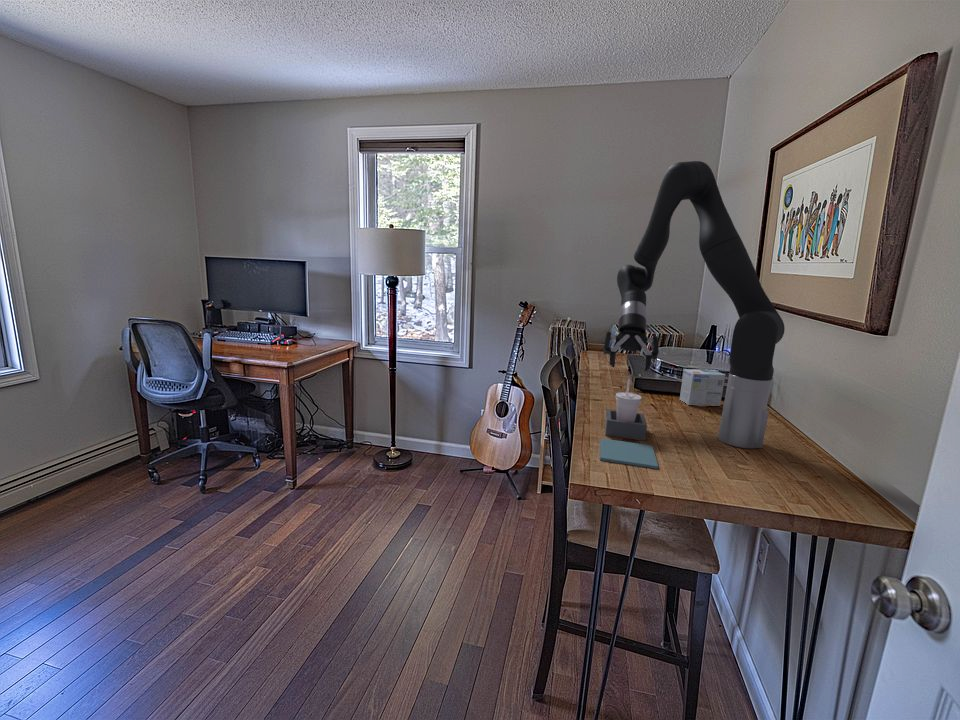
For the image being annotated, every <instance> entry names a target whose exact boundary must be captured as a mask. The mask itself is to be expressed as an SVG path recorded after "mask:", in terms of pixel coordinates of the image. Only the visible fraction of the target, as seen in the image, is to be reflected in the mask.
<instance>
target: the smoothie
mask: <svg viewBox="0 0 960 720" xmlns="http://www.w3.org/2000/svg"><path fill="white" fill-rule="evenodd" d="M626 383H627V385H626V391H625V392H623V391H622V392H616V394H615V400H616V405H615V406H616V410H617V420H619V421H627V422H635V418H636V414H637V413H638V411H639V410H638V409H639V407H640V403H641V402H642V396H641V395H638V394H637V393H632V392H629V391H630V385H631V379H628V378H627V382H626Z"/></svg>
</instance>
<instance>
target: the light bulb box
mask: <svg viewBox="0 0 960 720" xmlns="http://www.w3.org/2000/svg"><path fill="white" fill-rule="evenodd" d="M725 380H726V374H725V373H722V372H721V371H717V370H715V369H694V368H693V369H692V368H691V369H689V368H688V369H687V368H683V373H682V380H681V388H680V395H679V401H680V400H681V401H680V402H682V401H683V402H685V403H686V404H687V405H686V404H685V403H684V404H685V405H686V406H688V405H715V406H720V407H721V403H722V396H723V391H724V384H725ZM683 402H682V403H683Z"/></svg>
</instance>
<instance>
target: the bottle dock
mask: <svg viewBox="0 0 960 720" xmlns="http://www.w3.org/2000/svg"><path fill="white" fill-rule="evenodd" d="M647 427H648V424H647V420H646V418H645V413H640V412H637V414H636V418H635V422H627V421H619V420H617V409H612V408H611V409H609V408H607V409H606V413H605V421H604V432H605V433H604V435H605V436H608V437H617V438H623V439H632V440H637V441H638V440H639V441H646V436H647V429H648V428H647Z"/></svg>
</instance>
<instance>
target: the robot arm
mask: <svg viewBox="0 0 960 720" xmlns="http://www.w3.org/2000/svg"><path fill="white" fill-rule="evenodd" d="M659 186H660V187H659V189H658V194H657V196H656V200H655V201H654V206H653V209H652V212H651V216H650V217H649V218H650V219H649V222H648V224H647V227H646V229H645V231H644V234H643V235H642V237H641V240H640V241H639V243H638V246H637V248H636V250H635V252H634V254H633V260H634V261H635V262H636V263H637V264H638V265H640V266H642V267H639V266H635V265H632V264H624V265H623V266H622V267H620V268H619V270H618V271H617V276H616V282H617V287H618V291H619V293H620V298H621V300H620V301H621V302H620V310H619V314H618V316H619V317H618V326H617V328H618V329H617V333H616V334H612V332H610V331H607V332H606V334H605V341H604V342H605V343H604V346H603V353H604V354H605V355H607V354H608V355H609V360H608V361H609V362H608V363H609V365H610V366H611V367H612V368H615V365H616V355H617V354H619V353H621V351H622V350H624V351H628V352H629V351H630V352H635V353H636V352H638V353H639V355H641V356H642V357H643V358H644V363H643V365H644V366H643V367H644V368H643V371H644V372H648V370H650V368H651V364H652V359H654V360H656V359H658V356H659V352H660V351H659V337H658V336H656V335H655V336H653V337H648V336H647V335H646V334H647V318H648V317H647V316H648V315H647V294H646V292H647V291H649V290H650V289H651V287H652V286H653V281H654V278H655V273H656V272H655V271H656V268H657V265H658V262H659V260H660V258H661V256H662V255H663V253H664V251H665V249H666V247H667V245H668V243H669V239H670V232H671V229H670V227H671V221H672V217H673V214H674V212H675V210H676V209H677V207H678V206H679V205H680V203H681V202H682V201H684V200H685V201H686V200H689V201H690V203H691V204H692V206H693V207H694V210H695V212H696V214H697V217H698V221H699V235H698V239H699V240H698V245H699V250H700V251H699V252H700V254H701V256H702V258H703V260H704V262H705V265H706V267H707V270H708V271H709V273H710V274H711V276H712V277H713V279H714V280H715V281H716V283H717V284H718V285H719V286H720V287H721V288H722V289H723V291H724V292H725V293H726V294H727V296H728V297H729V298H730V299H731V300H730V301H732V303H733V306H734V307H735V310H736V313H737V315H738V319H737V321H736V323H735V325H734V327H733V332H732V338H731V345H730V351H729V359H728V361H729V374H728V379H727V385H726V390H725V396H724V401H723V406H722V414H721V418H720V423H719V429H718V435H717V438H718V441H721V442H723V443H725V444H727V445H730V446H734V447H737V448H743V449H762V448H763V445H764V444H763V443H764V439H765V434H766V430H767V424H768V419H769V415H770V411H769V410H768V409H767V407H768V402H769V397H770V393H771V386H772V383H773V376H774V374H775V373H774V372H775V371H774V370H775V368H774V366H773V365H774V363H773V361H774V355H775V350H776V344H779V342H780V341H781V340H782V339H783V337H784V334H785V330H786V329H785V327H786V326H785V323H784V320H783V319H782V317H781V315H780V314H779V312H778V310H777V309H776V308H775V306H774V305H773V303H772V302H771V300H770V298H769V297H768V295H767V293H766V292H765V290H764V288H763V286H762V283H761V281H760V278H759V277H758V274H757V272H756V269H755V266H754V264H753V262H752V260H751V258H750V255H749V253H748V250H747V249H746V246H745V244H744V242H743V240H742V238H741V236H740V235H739V232H738V230H737V229H736V227H735V225H734V223H733V221H732V217H731V216H730V214H729V212H728V209H727V208H726V206H725V203H724V201H723V198H722V195H721V193H720V190H719V189H720V188H719V186H718V183H717V180H716V177H715V174H714V172H713V170H712V168H711V167H710V166H709V165H708V163H706V162H704V161H701V160H692V161H689V160H688V161H680V162H676V163H674V164H672V165H670V166H669V168H667V170H666V172H665V173H664V175H663V178H662V181H661V183H660V185H659ZM614 340H615V341H616V344H615V345H614V346H612V347H610V343H612V342H614ZM647 344H649V345H648V346H650V347H651V350H650V349H649V348H648V346H647Z"/></svg>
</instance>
